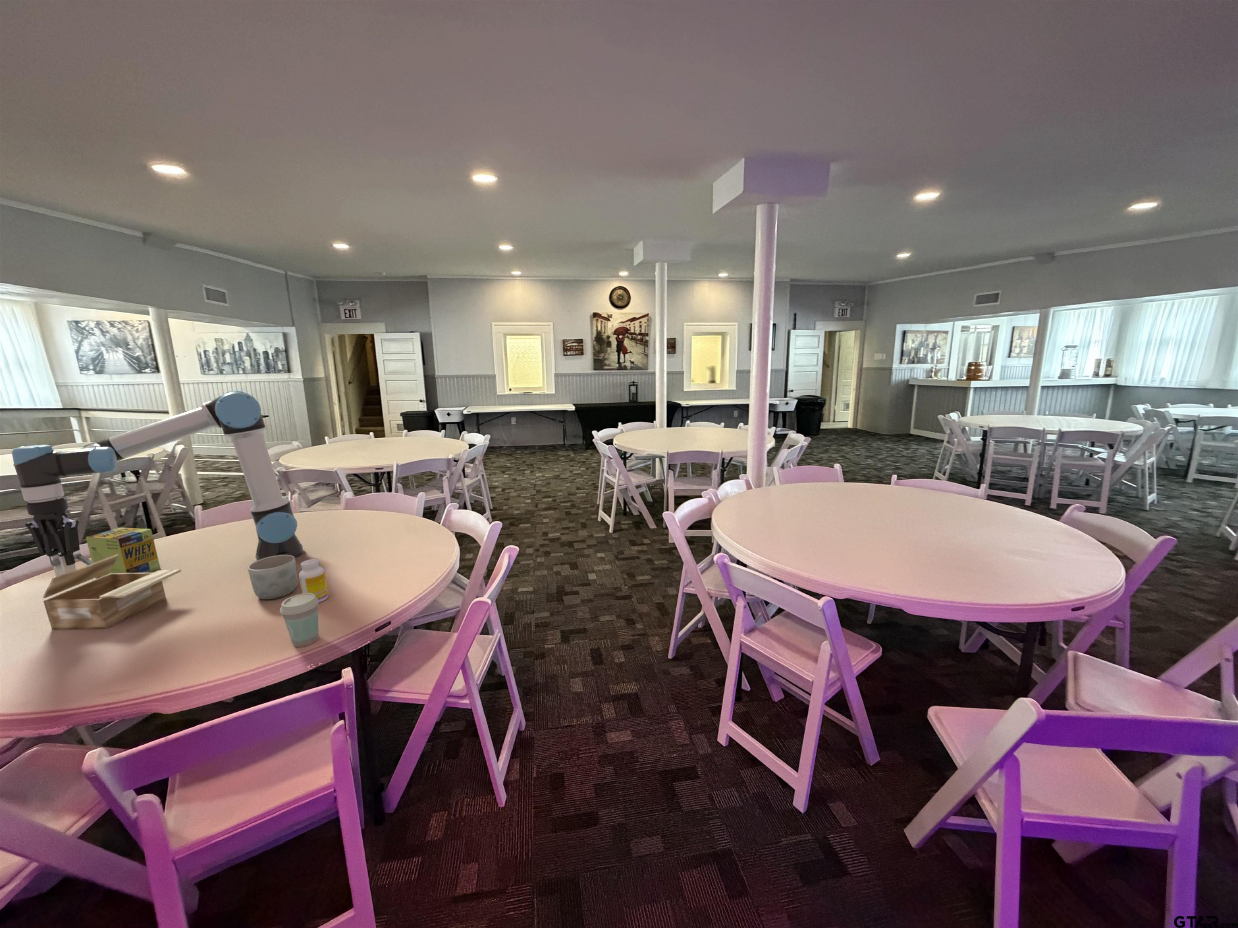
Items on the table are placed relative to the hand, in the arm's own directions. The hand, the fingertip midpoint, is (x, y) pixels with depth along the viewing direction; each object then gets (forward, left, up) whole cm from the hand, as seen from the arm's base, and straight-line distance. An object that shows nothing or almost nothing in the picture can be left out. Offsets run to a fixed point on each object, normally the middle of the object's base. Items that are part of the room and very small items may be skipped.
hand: (66, 575), depth 142 cm
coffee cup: (-81, +16, -13) cm, 83 cm away
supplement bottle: (-69, -7, -13) cm, 70 cm away
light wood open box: (-14, -1, -13) cm, 19 cm away
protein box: (+16, -31, -13) cm, 37 cm away
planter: (-53, -12, -13) cm, 56 cm away
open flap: (-4, -1, 0) cm, 4 cm away
